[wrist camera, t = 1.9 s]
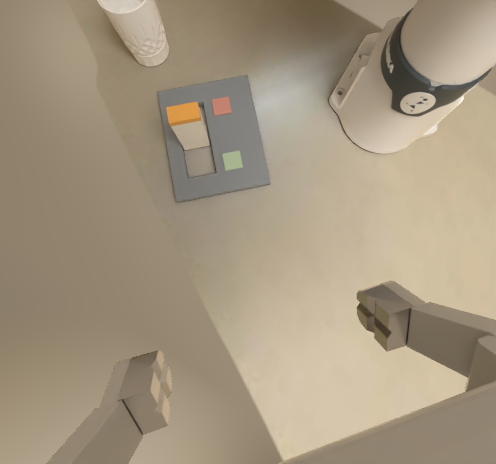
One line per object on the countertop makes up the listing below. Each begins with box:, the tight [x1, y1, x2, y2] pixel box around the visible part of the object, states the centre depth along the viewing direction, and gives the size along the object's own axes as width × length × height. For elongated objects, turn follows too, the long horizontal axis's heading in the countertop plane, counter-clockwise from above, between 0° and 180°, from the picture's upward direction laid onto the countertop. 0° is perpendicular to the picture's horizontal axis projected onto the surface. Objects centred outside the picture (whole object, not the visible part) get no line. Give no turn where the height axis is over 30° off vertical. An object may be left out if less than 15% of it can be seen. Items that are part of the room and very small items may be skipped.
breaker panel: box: [158, 75, 271, 203], centre depth 40 cm, size 20×16×1 cm
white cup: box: [97, 0, 170, 67], centre depth 38 cm, size 8×8×10 cm
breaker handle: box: [166, 102, 210, 150], centre depth 37 cm, size 2×4×8 cm, turn 101°
